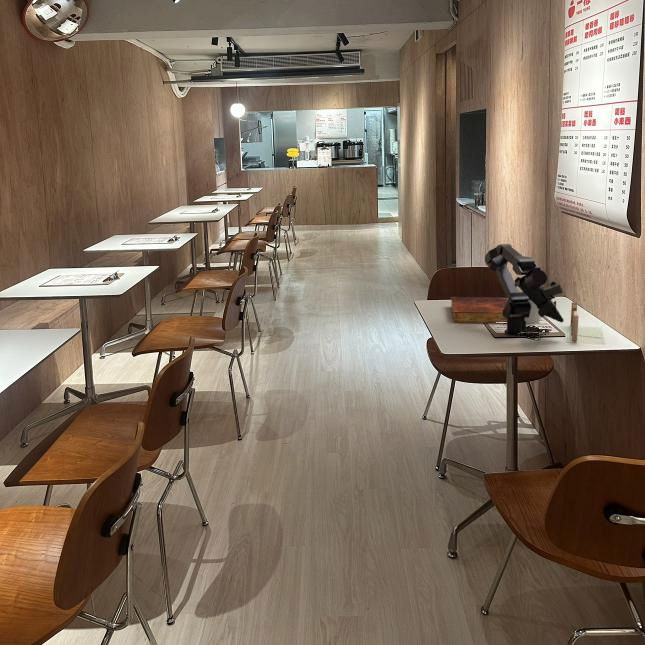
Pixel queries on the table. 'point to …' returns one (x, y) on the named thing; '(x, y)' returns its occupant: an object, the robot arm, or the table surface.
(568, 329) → the card
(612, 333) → the table surface
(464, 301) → the book
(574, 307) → the fence frame
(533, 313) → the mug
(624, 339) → the table surface
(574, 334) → the block
